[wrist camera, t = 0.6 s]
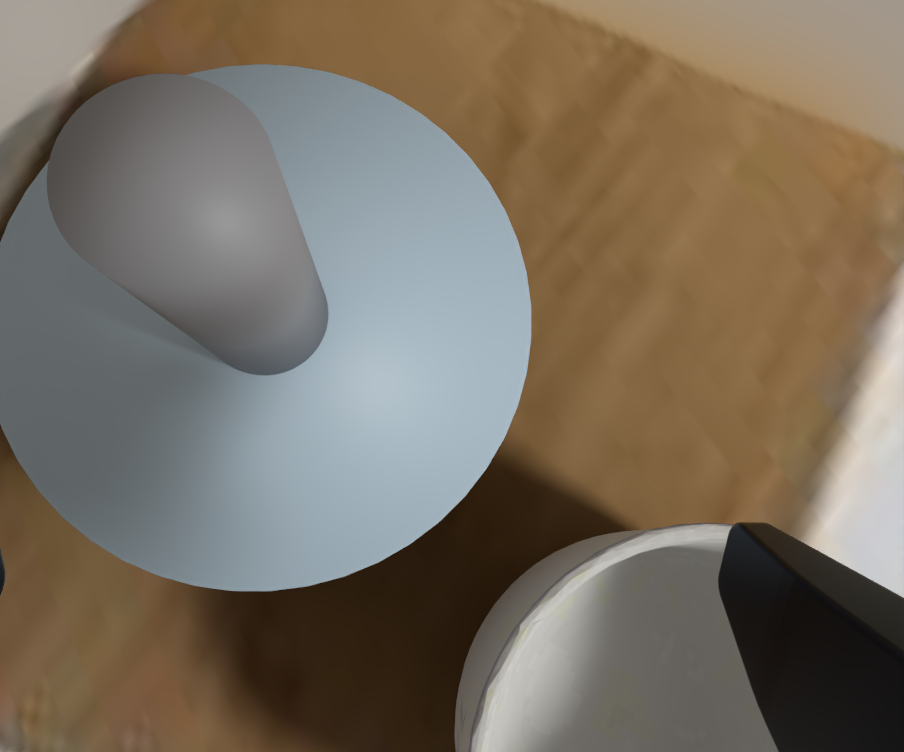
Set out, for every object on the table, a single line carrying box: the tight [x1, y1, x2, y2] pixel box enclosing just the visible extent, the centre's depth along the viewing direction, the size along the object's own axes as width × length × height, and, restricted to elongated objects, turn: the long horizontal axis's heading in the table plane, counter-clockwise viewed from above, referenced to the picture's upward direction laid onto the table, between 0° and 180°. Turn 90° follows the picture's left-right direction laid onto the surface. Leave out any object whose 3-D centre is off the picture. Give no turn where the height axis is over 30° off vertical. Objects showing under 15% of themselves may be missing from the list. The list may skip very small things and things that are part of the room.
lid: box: [0, 64, 531, 591], centre depth 14 cm, size 13×13×9 cm
